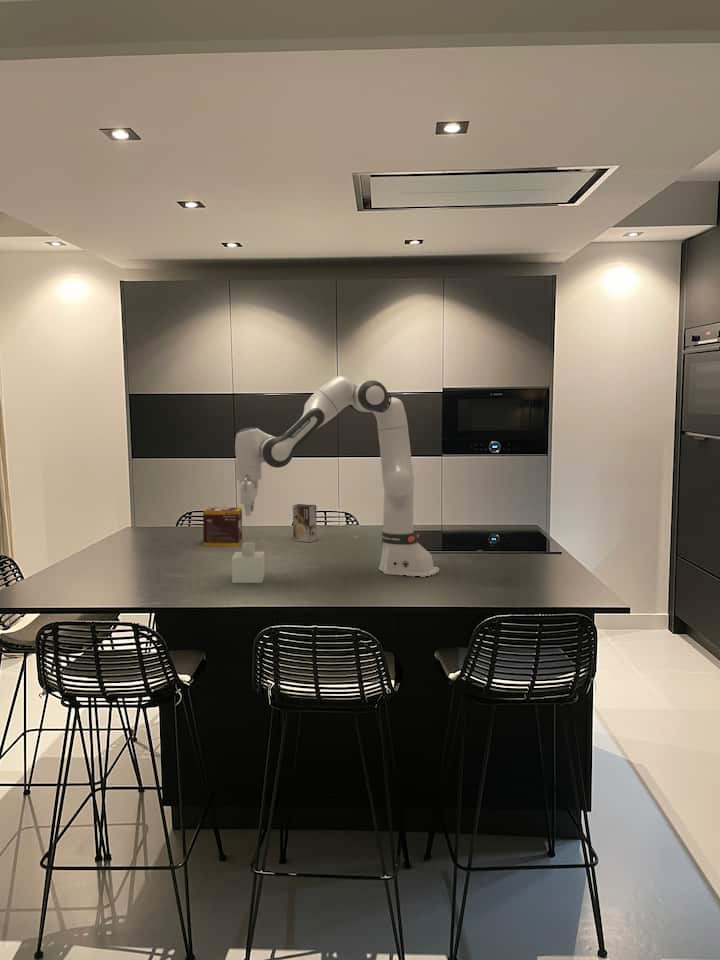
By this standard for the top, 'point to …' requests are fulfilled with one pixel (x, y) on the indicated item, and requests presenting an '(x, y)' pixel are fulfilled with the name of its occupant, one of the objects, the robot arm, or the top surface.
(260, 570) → the pale sage box
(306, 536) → the coffee box
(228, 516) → the supplement box
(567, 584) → the top surface
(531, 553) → the top surface
